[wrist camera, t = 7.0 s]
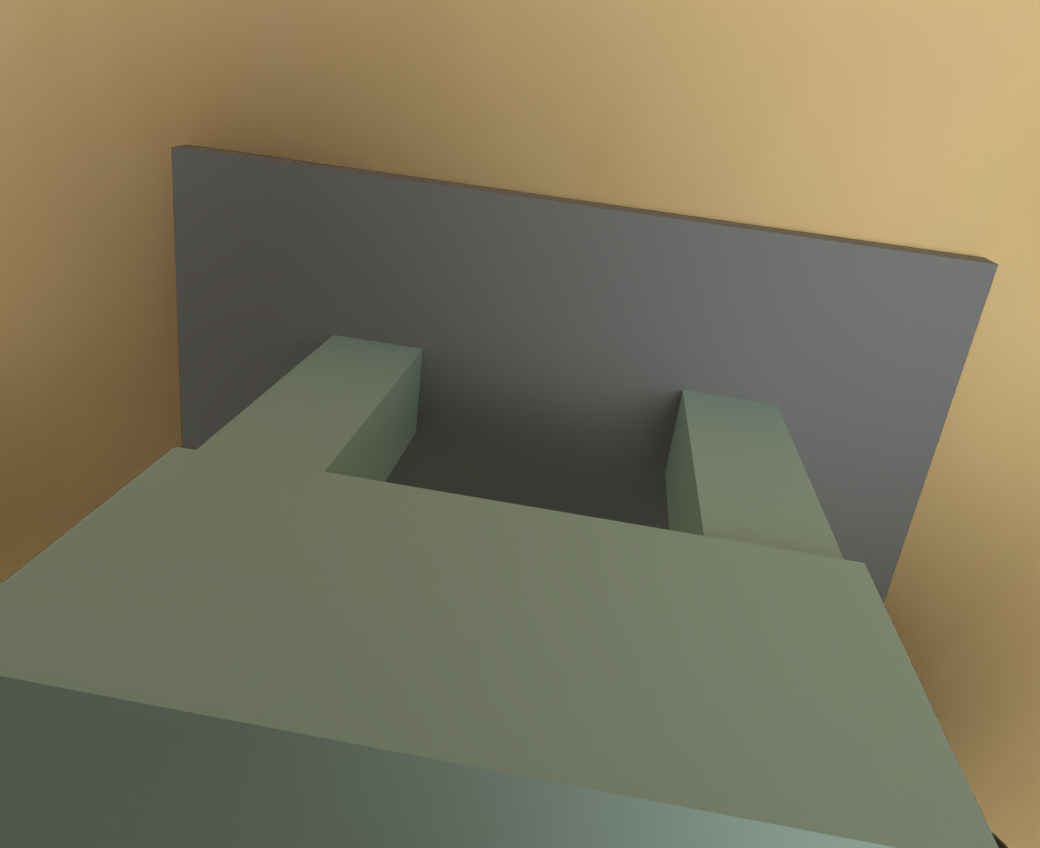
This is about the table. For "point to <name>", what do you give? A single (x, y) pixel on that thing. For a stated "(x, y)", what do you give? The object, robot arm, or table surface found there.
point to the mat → (574, 333)
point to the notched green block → (459, 653)
